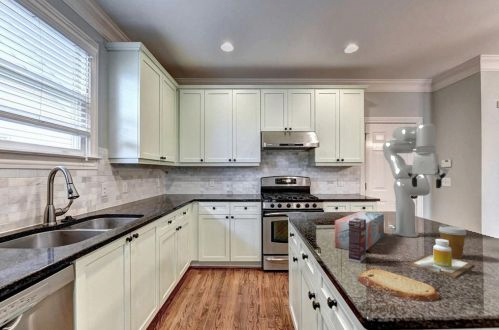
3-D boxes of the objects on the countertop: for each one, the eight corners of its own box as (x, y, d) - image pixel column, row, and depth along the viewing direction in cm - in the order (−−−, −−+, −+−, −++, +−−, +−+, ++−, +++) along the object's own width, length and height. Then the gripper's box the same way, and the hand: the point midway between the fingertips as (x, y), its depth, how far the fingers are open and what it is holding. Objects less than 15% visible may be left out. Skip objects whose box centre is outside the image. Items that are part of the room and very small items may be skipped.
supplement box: (360, 263, 101) (360, 222, 101) (348, 260, 104) (348, 220, 104) (366, 257, 108) (366, 219, 108) (354, 255, 111) (354, 217, 111)
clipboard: (407, 264, 100) (407, 260, 100) (428, 255, 111) (428, 251, 111) (455, 277, 88) (455, 273, 88) (473, 265, 99) (473, 261, 99)
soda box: (365, 254, 113) (365, 224, 113) (333, 248, 121) (333, 220, 122) (384, 236, 145) (384, 212, 145) (358, 232, 153) (358, 210, 154)
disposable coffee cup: (461, 254, 113) (460, 226, 113) (471, 261, 104) (471, 231, 104) (435, 251, 116) (435, 224, 116) (443, 258, 107) (443, 229, 107)
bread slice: (446, 301, 72) (445, 288, 72) (384, 304, 71) (384, 290, 71) (402, 275, 90) (402, 264, 90) (352, 277, 88) (352, 266, 89)
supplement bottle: (453, 270, 92) (452, 242, 92) (434, 267, 95) (434, 240, 95) (450, 265, 97) (450, 239, 97) (432, 263, 99) (432, 237, 100)
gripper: (402, 151, 127) (402, 186, 126) (444, 149, 113) (445, 188, 112) (409, 152, 131) (409, 186, 131) (451, 150, 117) (451, 188, 117)
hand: (426, 187), depth 121 cm, fingers open, 9 cm apart
